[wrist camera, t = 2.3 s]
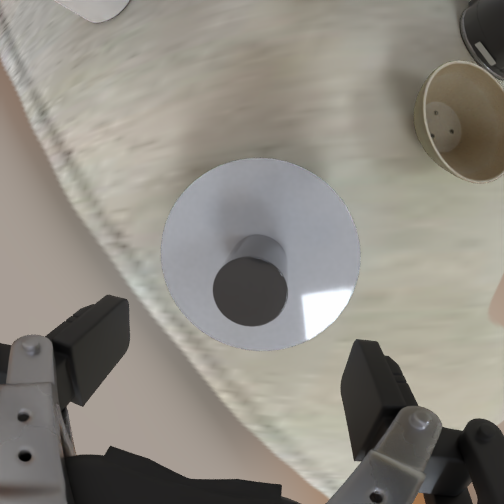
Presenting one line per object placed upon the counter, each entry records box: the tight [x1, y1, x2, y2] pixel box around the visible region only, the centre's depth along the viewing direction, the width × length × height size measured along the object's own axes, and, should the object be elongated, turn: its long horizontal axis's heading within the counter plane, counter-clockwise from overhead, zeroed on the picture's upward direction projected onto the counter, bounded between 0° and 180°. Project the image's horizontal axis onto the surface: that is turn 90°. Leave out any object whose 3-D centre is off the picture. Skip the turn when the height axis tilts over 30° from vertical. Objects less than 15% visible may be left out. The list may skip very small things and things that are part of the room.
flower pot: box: [414, 60, 504, 184], centre depth 22 cm, size 10×10×7 cm
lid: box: [161, 158, 361, 351], centre depth 18 cm, size 13×13×6 cm
